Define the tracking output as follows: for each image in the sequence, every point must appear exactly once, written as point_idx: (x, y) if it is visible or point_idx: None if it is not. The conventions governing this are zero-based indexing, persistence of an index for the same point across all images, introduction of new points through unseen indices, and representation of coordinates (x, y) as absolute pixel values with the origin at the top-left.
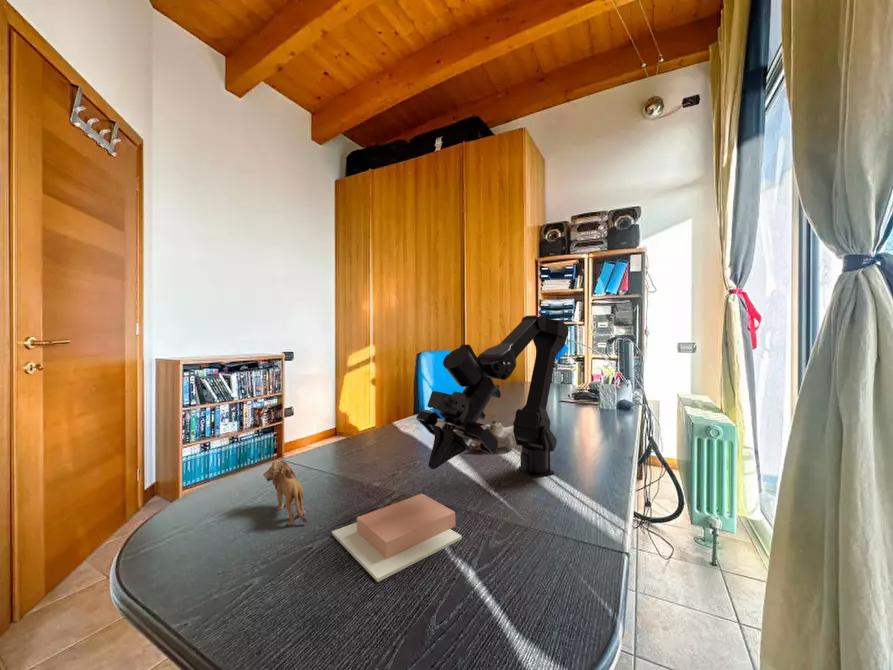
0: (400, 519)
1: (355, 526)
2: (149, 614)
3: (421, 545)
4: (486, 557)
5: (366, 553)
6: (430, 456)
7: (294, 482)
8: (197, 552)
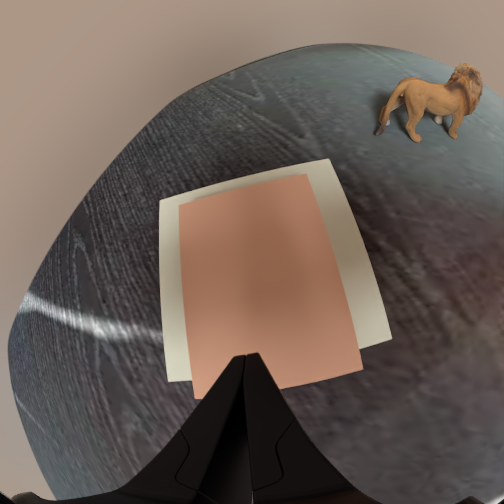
0: (242, 254)
1: (329, 193)
2: (257, 60)
3: None
4: (109, 377)
5: None
6: (270, 378)
7: (418, 80)
8: (344, 65)
